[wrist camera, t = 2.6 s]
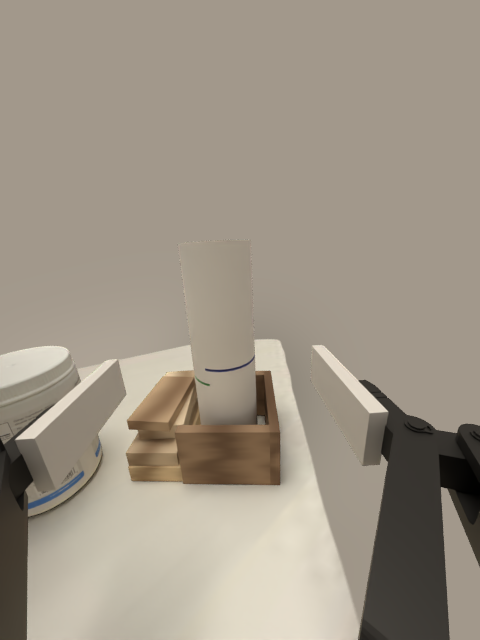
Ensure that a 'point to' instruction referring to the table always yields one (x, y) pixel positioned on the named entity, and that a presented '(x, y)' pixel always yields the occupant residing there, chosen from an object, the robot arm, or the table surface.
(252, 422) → the cylindrical container
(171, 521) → the table surface
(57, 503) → the supplement tub
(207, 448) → the offcut rack
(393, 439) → the robot arm
